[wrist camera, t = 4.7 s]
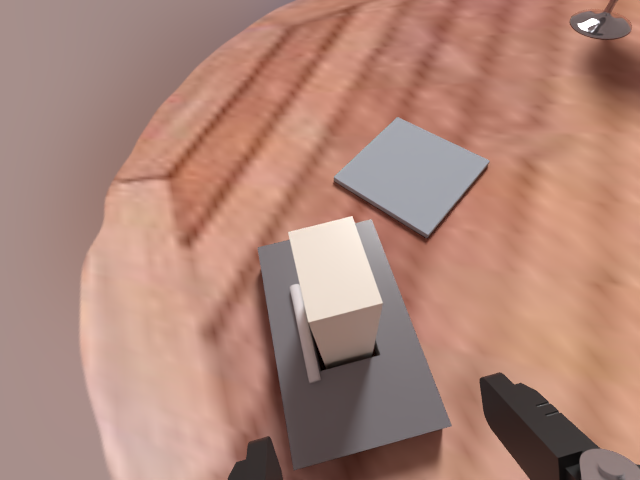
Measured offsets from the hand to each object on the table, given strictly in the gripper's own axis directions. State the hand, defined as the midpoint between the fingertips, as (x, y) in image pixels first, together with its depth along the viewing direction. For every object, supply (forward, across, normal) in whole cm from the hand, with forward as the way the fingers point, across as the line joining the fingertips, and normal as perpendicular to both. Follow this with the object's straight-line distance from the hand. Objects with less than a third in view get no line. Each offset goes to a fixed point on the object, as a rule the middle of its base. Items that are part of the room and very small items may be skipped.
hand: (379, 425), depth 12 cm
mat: (+24, -11, -6) cm, 27 cm away
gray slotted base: (+14, 0, +4) cm, 15 cm away
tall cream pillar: (+14, 0, +4) cm, 15 cm away
